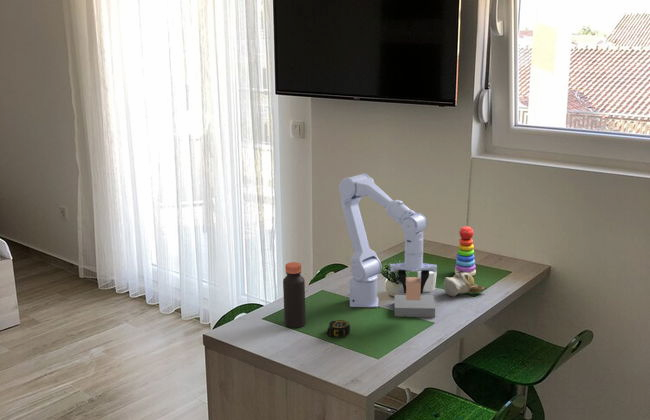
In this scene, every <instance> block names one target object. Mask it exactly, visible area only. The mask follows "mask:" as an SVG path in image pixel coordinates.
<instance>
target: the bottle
mask: <svg viewBox="0 0 650 420" xmlns="http://www.w3.org/2000/svg"><path fill="white" fill-rule="evenodd" d="M284 266H285V274H286V275H285V277H284V278H283V280H282V289H283V291H282V293H283V315H284V316H283V317H284V319H283V320H284V325H285V326H286V327H287V328H292V329H297V328H301V327H304V326H305V325H306V322H307V319H306V318H307V317H306V312H307V311H306V289H305V287H306V285H305V284H306V283H305V278H304V277H303V276H302V264H301V263H300V262H295V261H294V262H293V261H291V262H287V263H285V265H284Z"/></svg>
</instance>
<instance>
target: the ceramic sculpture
mask: <svg viewBox="0 0 650 420" xmlns="http://www.w3.org/2000/svg"><path fill="white" fill-rule="evenodd" d="M443 289H444V291H445V293H446V294H447V296H450V297H456V296H457V295H458V294H461V295H462V294H463V295H464V294H468V293H472V294H473V293H474V294H479V293H480V292H483V291H484V290H486V289H487V286H481V284H476V283H475V279H474V277H473V276H471V275H470V274H468V273H465V272H463V271H458V272H456V273H455V272H454V275H453V277H447V276H445V277H444V279H443Z"/></svg>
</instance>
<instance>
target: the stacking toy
mask: <svg viewBox="0 0 650 420" xmlns="http://www.w3.org/2000/svg"><path fill="white" fill-rule="evenodd" d="M459 236H460V239H458V240H459V245H458V249H457V254H456V259H455V263H456V264H455V266H454V267H455V268H454V274H455V273H456V272H458V271H463V272H465V273H468V274H470V275H471V276H472V277H473V276H475V275H476V274H477V270H476V268H477V267H476V264H475V263H476V260H475V254H474V253H475V250H474V248H475V246H474V240H473V239H472V238H473V236H474V229H473V228H471V227H470V226H468V225H467V226H462V227H461V228H460V229H459Z"/></svg>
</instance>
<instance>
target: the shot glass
mask: <svg viewBox="0 0 650 420" xmlns="http://www.w3.org/2000/svg"><path fill="white" fill-rule="evenodd" d="M437 273H438V271H437V272H429V277H428V279H427V281H426V283H425V285H424V288H423V293H430V292H433V291H435V290H436V282H437ZM417 277H419V278H420V279H421V271H417Z"/></svg>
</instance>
